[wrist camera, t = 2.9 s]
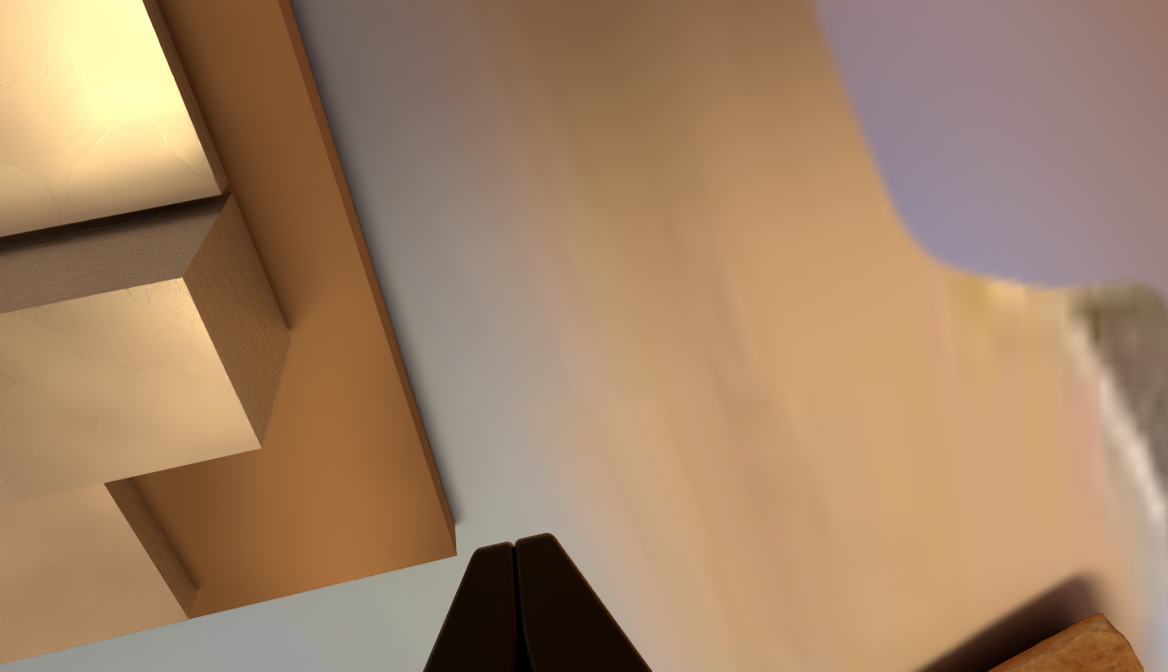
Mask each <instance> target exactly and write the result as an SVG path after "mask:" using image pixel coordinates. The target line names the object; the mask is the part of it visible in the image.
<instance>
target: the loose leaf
mask: <svg viewBox="0 0 1168 672" xmlns="http://www.w3.org/2000/svg"><path fill="white" fill-rule="evenodd" d="M228 183H229V182H228V179H227V177H226V174H225V172H224V169H223V167H222V164H221V162H220V159H219V157H218V154H217V152H216V149H215V147H214V144H213V142H212V139H211V137H210V134H209V132H208V129H207V127H206V124H205V122H204V119H203V117H202V114H201V112H200V109H199V107H198V104H197V102H196V99H195V97H194V94H193V92H192V89H191V87H190V84H189V82H188V79H187V77H186V74H185V72H184V69H183V67H182V64H181V62H180V59H179V57H178V54H177V52H176V49H175V47H174V44H173V42H172V39H171V37H170V34H169V32H168V29H167V27H166V24H165V22H164V19H163V17H162V14H161V12H160V9H159V7H158V4H157V2H156V0H0V506H2V505H7V504H11V503H16V502H20V501H25V500H29V499H34V498H38V497H43V496H47V495H52V494H57V493H61V492H66V491H70V490H75V489H79V488H84V487H88V486H93V485H97V484H102V483H106V482H111V481H115V480H120V479H125V478H129V477H134V476H138V475H143V474H147V473H152V472H156V471H161V470H165V469H170V468H174V467H179V466H183V465H188V464H193V463H197V462H202V461H206V460H211V459H215V458H220V457H224V456H229V455H233V454H238V453H242V452H247V451H251V450H256V449H261V448H262V445H263V442H264V438H265V434H266V431H267V427H268V423H269V419H270V416H271V412H272V408H273V405H274V401H275V397H276V394H277V390H278V386H279V383H280V379H281V375H282V372H283V368H284V364H285V361H286V357H287V353H288V350H289V346H290V342H291V337H290V334H289V332H288V329H287V327H286V324H285V322H284V319H283V317H282V314H281V312H280V309H279V307H278V304H277V302H276V299H275V297H274V294H273V292H272V289H271V287H270V284H269V282H268V279H267V277H266V274H265V272H264V269H263V267H262V264H261V262H260V259H259V257H258V254H257V252H256V249H255V247H254V244H253V242H252V239H251V237H250V234H249V232H248V229H247V227H246V224H245V222H244V219H243V217H242V214H241V212H240V209H239V207H238V204H237V202H236V199H235V197H234V194H233V192H228V193H223V191H224V189H225V188H226V186H227V184H228ZM222 193H223V194H222Z"/></svg>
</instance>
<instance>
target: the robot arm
mask: <svg viewBox="0 0 1168 672" xmlns="http://www.w3.org/2000/svg"><path fill="white" fill-rule="evenodd" d="M423 672H652V670H651V669H650V667H649V666H648V665H647V663H646V662H645V661H644V659H643V658H642V656H641V655H640V654H639V652H638V651H637V649H636V648H635V647H634V645H633V644H632V643H631V641H630V640H629V638H628V637H627V636H626V634H625V633H624V632H623V630H622V629H621V627H620V626H619V625H618V623H617V622H616V620H615V619H614V618H613V616H612V615H611V614H610V612H609V611H608V609H607V608H606V607H605V605H604V604H603V603H602V601H601V600H600V598H599V597H598V596H597V594H596V593H595V591H594V590H593V589H592V587H591V586H590V585H589V583H588V582H587V580H586V579H585V578H584V576H583V575H582V573H581V572H580V571H579V569H578V568H577V567H576V565H575V564H574V562H573V561H572V560H571V558H570V557H569V556H568V554H567V553H566V551H565V550H564V549H563V547H562V546H561V544H560V543H559V542H558V540H557V539H556V538H555V537H554V536H553V535H552V534H551V533H543V534H539V535H534V536H530V537H525V538H521V539H518V540H517V541H516V543H515V547H514V545H513V544H512V543H510V542H503V543H499V544H494V545H490V546H485V547H481V548H478V549H477V550H476V551H475V552H474V553H473V555H472V557H471V559H470V562H469V564H468V567H467V569H466V571H465V574H464V576H463V578H462V581H461V583H460V585H459V588H458V590H457V592H456V595H455V597H454V600H453V602H452V604H451V607H450V609H449V611H448V614H447V616H446V618H445V621H444V623H443V626H442V628H441V630H440V633H439V635H438V637H437V640H436V642H435V644H434V647H433V649H432V652H431V654H430V656H429V659H428V661H427V663H426V666H425V668H424V670H423Z"/></svg>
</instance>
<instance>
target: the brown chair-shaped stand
mask: <svg viewBox="0 0 1168 672" xmlns="http://www.w3.org/2000/svg"><path fill="white" fill-rule="evenodd" d="M988 672H1144V670H1143V667H1142V665H1141V663H1140V661H1139V660H1138V658H1137V656H1136V654H1135V653H1134V651H1133V649H1132V647H1131V645H1130V643H1129V642H1128V641H1127V639H1126V638H1125V636H1124V635H1123V634H1122V633H1120V632H1119V631H1118V630H1117V629H1115V628H1114V626H1113V625H1112V624H1111V623H1110V622H1109V621H1108V620H1107V618H1106V617H1105V616H1104V615H1103V614H1101V613H1099V614H1094V615H1092V616H1090V617H1088V618H1086V619H1083V620H1081V621H1079V622H1077V623H1076V624H1074V625H1072V626H1070V627H1069V628H1067V629H1065V630H1063V631H1061V632H1059V633H1058V634H1056V635H1054V636H1052V637H1049V638H1047V639H1045V640H1043V641H1041V642H1040V643H1038V644H1037V645H1035V646H1033V647H1032V648H1030V649H1028V650H1026V651H1024V652H1022V653H1020V654H1018V655H1016V656H1014V657H1012V658H1011V659H1009V660H1007V661H1005V662H1003V663H1001V664H1000V665H998V666H996V667H995V668H993V669H991V670H989V671H988Z"/></svg>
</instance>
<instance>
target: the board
mask: <svg viewBox="0 0 1168 672" xmlns="http://www.w3.org/2000/svg"><path fill="white" fill-rule="evenodd" d="M156 2H157V4H158V7H159V9H160V12H161V14H162V17H163V19H164V22H165V24H166V27H167V29H168V32H169V34H170V37H171V39H172V42H173V44H174V47H175V49H176V52H177V54H178V57H179V59H180V62H181V64H182V67H183V69H184V72H185V74H186V77H187V79H188V82H189V84H190V87H191V89H192V92H193V94H194V97H195V99H196V102H197V104H198V107H199V109H200V112H201V114H202V117H203V119H204V122H205V124H206V127H207V129H208V132H209V134H210V137H211V139H212V142H213V144H214V147H215V149H216V152H217V154H218V157H219V159H220V162H221V164H222V167H223V169H224V172H225V174H226V177H227V179H228V182H229V183H228V184H227V186H226V188H225V189H224V191H223V193H228V192H233V194H234V197H235V199H236V202H237V204H238V207H239V209H240V212H241V214H242V217H243V219H244V222H245V224H246V227H247V229H248V232H249V234H250V237H251V239H252V242H253V244H254V247H255V249H256V252H257V254H258V257H259V259H260V262H261V264H262V267H263V269H264V272H265V274H266V277H267V279H268V282H269V284H270V287H271V289H272V292H273V294H274V297H275V299H276V302H277V304H278V307H279V309H280V312H281V314H282V317H283V319H284V322H285V324H286V327H287V329H288V332H289V334H290V337H291V342H290V346H289V350H288V353H287V357H286V361H285V364H284V368H283V372H282V375H281V379H280V383H279V386H278V390H277V394H276V397H275V401H274V405H273V408H272V412H271V416H270V419H269V423H268V427H267V431H266V434H265V438H264V442H263V445H262V448H261V449H256V450H251V451H247V452H242V453H238V454H233V455H229V456H224V457H220V458H215V459H211V460H206V461H202V462H197V463H193V464H188V465H183V466H179V467H174V468H170V469H165V470H161V471H156V472H152V473H147V474H143V475H138V476H134V477H130V478H131V479H132V481H133V483H134V484H135V486H136V488H137V489H138V491H139V493H140V494H141V496H142V498H143V499H144V501H145V503H146V504H147V506H148V508H149V509H150V511H151V513H152V514H153V516H154V518H155V519H156V521H157V523H158V524H159V526H160V528H161V529H162V531H163V533H164V534H165V536H166V538H167V539H168V541H169V543H170V544H171V546H172V548H173V549H174V551H175V553H176V554H177V556H178V558H179V559H180V561H181V563H182V564H183V566H184V568H185V569H186V571H187V573H188V574H189V576H190V578H191V579H192V581H193V583H194V584H195V586H196V588H197V589H198V591H197V595H196V598H195V601H194V604H193V608H192V611H191V614H190V617H189V619H191V618H196V617H200V616H204V615H208V614H212V613H217V612H221V611H225V610H229V609H234V608H238V607H242V606H246V605H250V604H255V603H259V602H263V601H267V600H271V599H276V598H280V597H284V596H288V595H293V594H297V593H301V592H305V591H309V590H314V589H318V588H322V587H326V586H331V585H335V584H339V583H343V582H347V581H352V580H356V579H360V578H364V577H368V576H373V575H377V574H381V573H385V572H390V571H394V570H398V569H402V568H406V567H411V566H415V565H419V564H423V563H427V562H432V561H436V560H440V559H444V558H449V557H453V556H457V553H456V535H455V525H454V522H453V518H452V515H451V512H450V509H449V506H448V503H447V499H446V496H445V493H444V490H443V487H442V483H441V480H440V477H439V474H438V471H437V468H436V464H435V461H434V458H433V455H432V452H431V449H430V445H429V442H428V439H427V436H426V433H425V429H424V426H423V423H422V420H421V417H420V414H419V410H418V407H417V404H416V401H415V398H414V395H413V391H412V388H411V385H410V382H409V379H408V375H407V372H406V369H405V366H404V363H403V360H402V356H401V353H400V350H399V347H398V344H397V341H396V337H395V334H394V331H393V328H392V325H391V321H390V318H389V315H388V312H387V309H386V306H385V302H384V299H383V296H382V293H381V290H380V287H379V283H378V280H377V277H376V274H375V271H374V268H373V264H372V261H371V258H370V255H369V252H368V248H367V245H366V242H365V239H364V236H363V233H362V229H361V226H360V223H359V220H358V217H357V214H356V210H355V207H354V204H353V201H352V198H351V194H350V191H349V188H348V185H347V182H346V179H345V175H344V172H343V169H342V166H341V163H340V160H339V156H338V153H337V150H336V147H335V144H334V140H333V137H332V134H331V131H330V128H329V125H328V121H327V118H326V115H325V112H324V109H323V106H322V102H321V99H320V96H319V93H318V90H317V86H316V83H315V80H314V77H313V74H312V71H311V67H310V64H309V61H308V58H307V55H306V52H305V48H304V45H303V42H302V39H301V36H300V32H299V29H298V26H297V23H296V20H295V17H294V13H293V10H292V7H291V4H290V1H289V0H156ZM223 193H222V194H223Z"/></svg>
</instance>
